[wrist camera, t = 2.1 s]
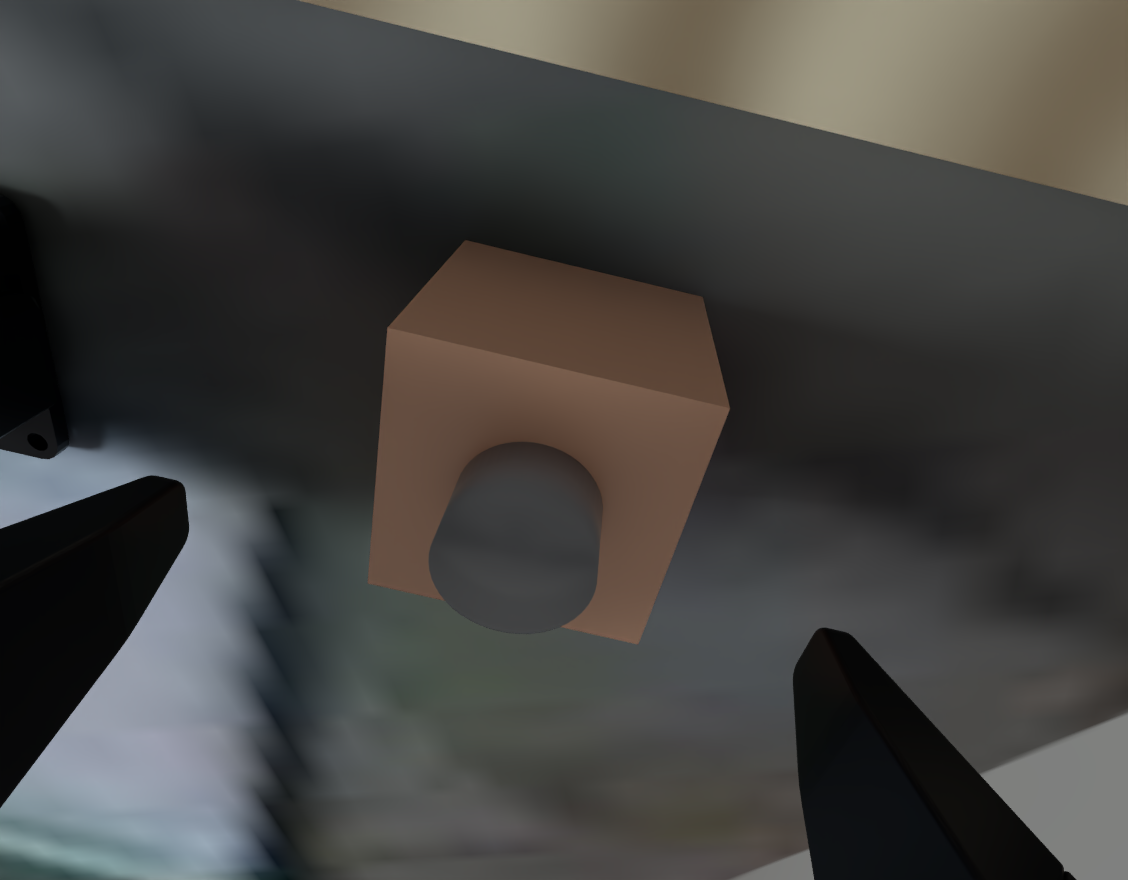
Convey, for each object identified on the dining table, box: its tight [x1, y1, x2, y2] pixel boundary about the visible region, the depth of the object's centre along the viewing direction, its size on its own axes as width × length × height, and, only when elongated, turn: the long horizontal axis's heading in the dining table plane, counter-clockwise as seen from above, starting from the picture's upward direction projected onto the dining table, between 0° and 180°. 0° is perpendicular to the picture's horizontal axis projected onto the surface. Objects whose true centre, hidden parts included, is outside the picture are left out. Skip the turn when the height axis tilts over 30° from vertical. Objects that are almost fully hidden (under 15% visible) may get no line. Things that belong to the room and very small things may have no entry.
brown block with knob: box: [368, 240, 730, 644], centre depth 12 cm, size 5×5×7 cm
